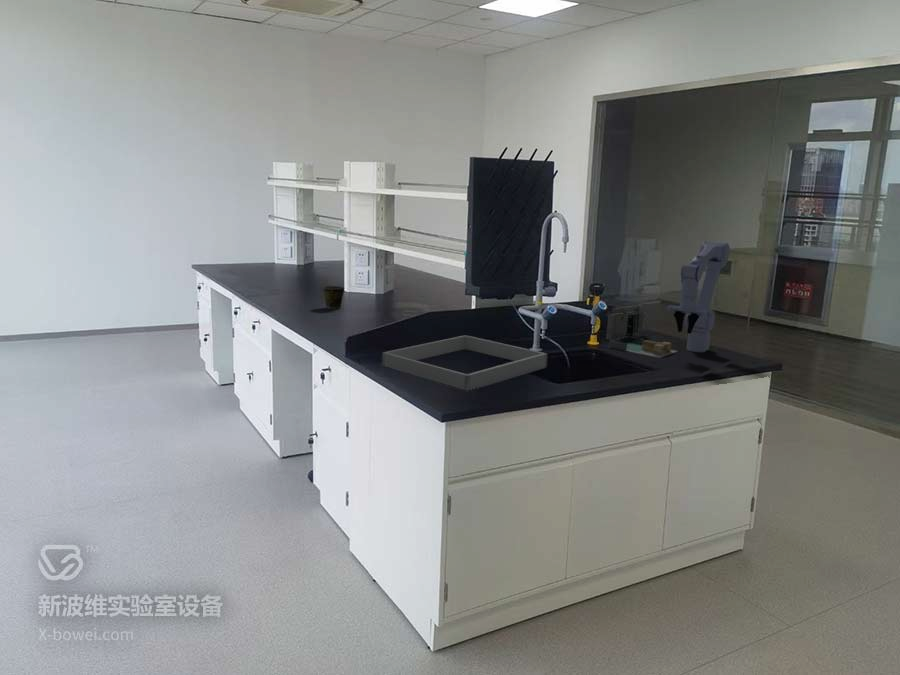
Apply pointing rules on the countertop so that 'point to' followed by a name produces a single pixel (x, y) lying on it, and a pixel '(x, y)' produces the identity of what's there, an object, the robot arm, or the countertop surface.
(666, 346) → the t block
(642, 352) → the mat
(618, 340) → the bracket
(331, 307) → the ceramic cup
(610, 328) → the geiger counter
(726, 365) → the countertop surface
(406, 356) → the grey square frame
